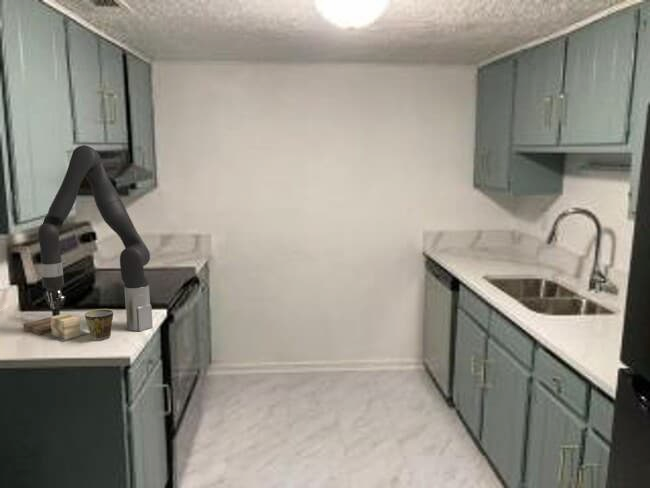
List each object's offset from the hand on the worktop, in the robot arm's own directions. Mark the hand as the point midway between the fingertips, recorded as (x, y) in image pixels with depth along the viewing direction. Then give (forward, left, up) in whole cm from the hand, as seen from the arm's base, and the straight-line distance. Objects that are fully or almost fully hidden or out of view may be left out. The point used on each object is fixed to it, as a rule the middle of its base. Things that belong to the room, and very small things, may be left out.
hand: (56, 317), depth 215 cm
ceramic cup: (-22, -5, -6) cm, 23 cm away
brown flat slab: (+8, 0, -6) cm, 10 cm away
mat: (-6, -1, -6) cm, 8 cm away
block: (-7, 0, -6) cm, 9 cm away
